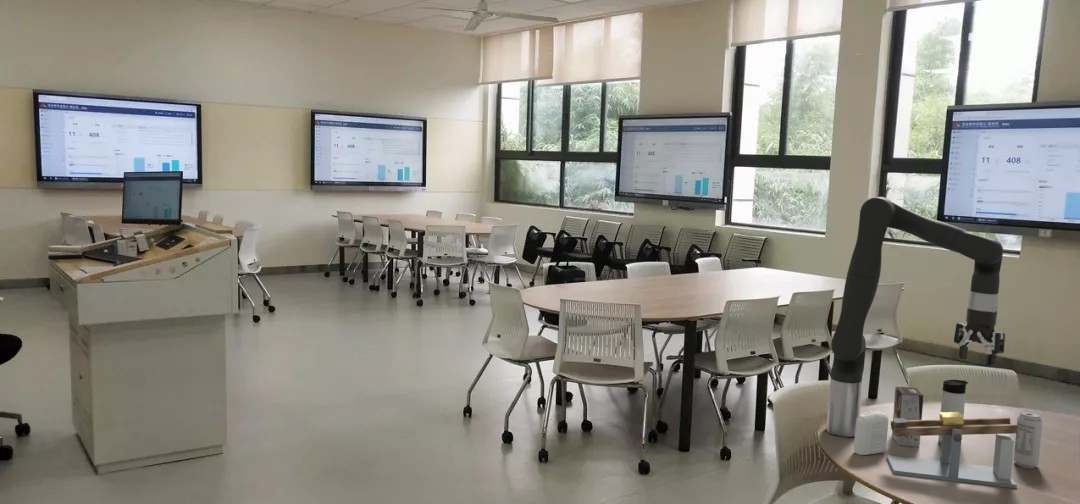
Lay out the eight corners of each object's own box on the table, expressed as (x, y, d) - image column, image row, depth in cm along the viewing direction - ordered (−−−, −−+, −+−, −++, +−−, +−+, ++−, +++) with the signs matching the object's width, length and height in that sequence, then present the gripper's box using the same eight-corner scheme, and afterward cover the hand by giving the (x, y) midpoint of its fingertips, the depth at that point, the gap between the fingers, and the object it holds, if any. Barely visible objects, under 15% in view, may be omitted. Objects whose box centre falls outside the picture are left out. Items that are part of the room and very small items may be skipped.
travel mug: (965, 448, 234) (970, 384, 232) (941, 446, 236) (946, 382, 234) (958, 441, 240) (963, 378, 238) (935, 439, 242) (940, 376, 240)
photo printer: (876, 447, 233) (879, 407, 232) (888, 452, 230) (891, 411, 228) (851, 452, 229) (854, 411, 228) (862, 457, 225) (865, 415, 224)
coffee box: (920, 447, 235) (924, 395, 233) (897, 445, 236) (901, 394, 234) (912, 437, 243) (916, 387, 242) (890, 435, 245) (894, 385, 243)
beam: (895, 439, 214) (894, 424, 214) (891, 431, 221) (890, 416, 221) (1017, 437, 206) (1016, 420, 206) (1009, 428, 213) (1008, 413, 212)
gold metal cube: (944, 430, 212) (942, 417, 212) (940, 425, 216) (939, 412, 216) (964, 429, 211) (963, 416, 210) (960, 424, 215) (959, 411, 215)
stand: (893, 474, 213) (897, 425, 211) (886, 458, 225) (889, 411, 223) (1017, 489, 205) (1021, 437, 203) (1002, 471, 217) (1006, 422, 215)
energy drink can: (1043, 468, 220) (1048, 416, 218) (1026, 469, 218) (1031, 418, 217) (1024, 460, 226) (1029, 410, 224) (1008, 462, 224) (1012, 411, 223)
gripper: (951, 303, 228) (945, 357, 230) (996, 313, 215) (989, 370, 217) (969, 302, 231) (963, 356, 233) (1014, 312, 218) (1008, 368, 220)
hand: (976, 362), depth 225 cm, fingers open, 8 cm apart
